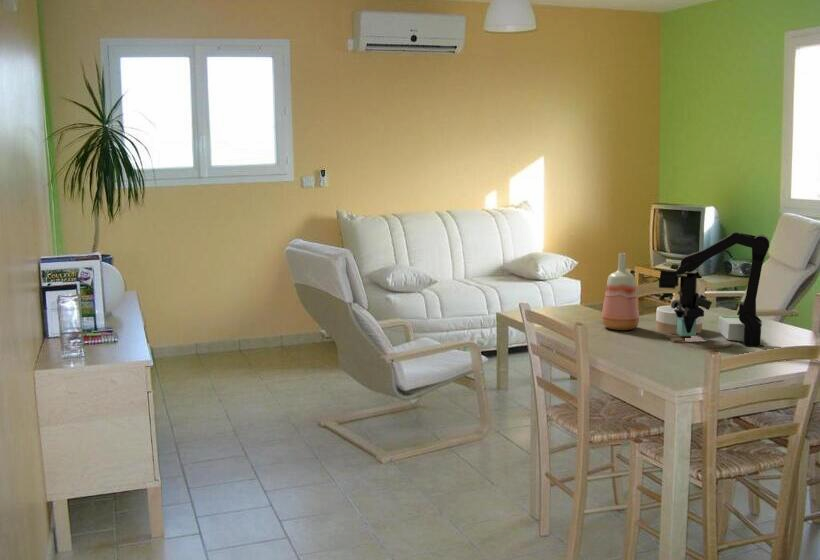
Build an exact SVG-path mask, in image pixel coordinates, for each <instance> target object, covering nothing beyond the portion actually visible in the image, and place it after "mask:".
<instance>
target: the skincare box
mask: <svg viewBox="0 0 820 560" xmlns="http://www.w3.org/2000/svg"><path fill="white" fill-rule="evenodd" d="M744 327H745V326H744V324H743V323H741V321H740V320H739V316H729V315H726V316H724V315H720V316H719V318H718V330H717V331H718V333H719V334H721V335H722V336H723V337H724V338H725V339H726V340H727V339H728V341H737V342H740V341H744Z"/></svg>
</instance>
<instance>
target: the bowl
mask: <svg viewBox="0 0 820 560" xmlns="http://www.w3.org/2000/svg"><path fill="white" fill-rule="evenodd" d="M674 310H676V307H675V309H673V308H671V305H661V306H658V307H657V308H656V312H655V313H656V315H655V330H656V331H657V332H660V333H664V334H667V335H679V334H677V316H676V313H675V311H674ZM695 320H696V332H695V333H699V334H701V333H702V328H703V317H698V318H697V319H695ZM700 332H701V333H700Z"/></svg>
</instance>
